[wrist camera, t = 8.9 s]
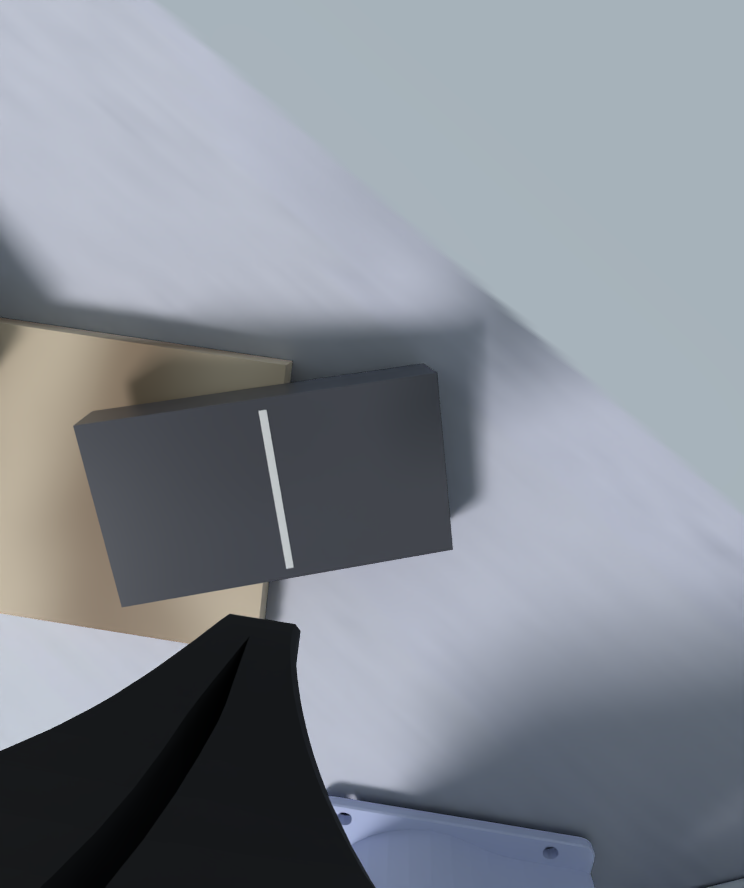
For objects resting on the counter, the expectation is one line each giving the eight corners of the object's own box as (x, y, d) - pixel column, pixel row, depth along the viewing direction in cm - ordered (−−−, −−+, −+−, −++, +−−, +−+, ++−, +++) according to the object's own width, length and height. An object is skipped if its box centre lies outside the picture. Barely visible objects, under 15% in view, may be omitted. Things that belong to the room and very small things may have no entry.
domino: (92, 410, 16) (423, 363, 17) (135, 578, 18) (438, 526, 19) (73, 426, 15) (437, 372, 16) (121, 608, 16) (452, 550, 17)
